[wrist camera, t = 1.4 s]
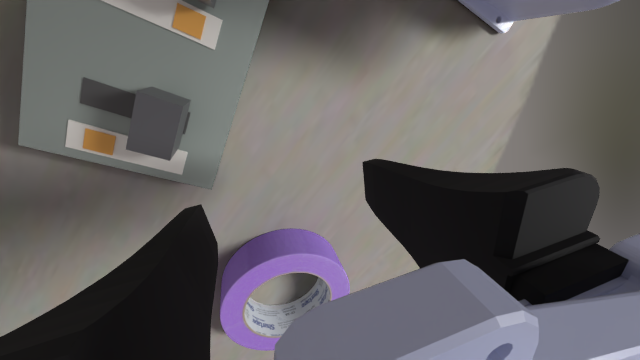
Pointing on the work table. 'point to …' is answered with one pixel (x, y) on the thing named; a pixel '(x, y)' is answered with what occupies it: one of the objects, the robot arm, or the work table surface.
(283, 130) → the work table surface
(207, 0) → the slider middle
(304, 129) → the work table surface
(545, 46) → the work table surface
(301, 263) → the masking tape
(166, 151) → the block
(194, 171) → the switch panel
